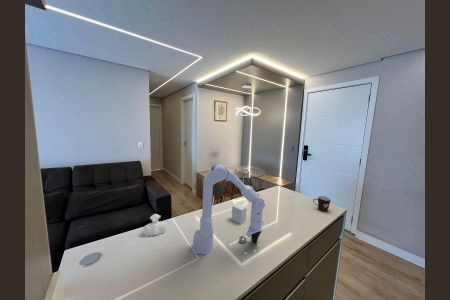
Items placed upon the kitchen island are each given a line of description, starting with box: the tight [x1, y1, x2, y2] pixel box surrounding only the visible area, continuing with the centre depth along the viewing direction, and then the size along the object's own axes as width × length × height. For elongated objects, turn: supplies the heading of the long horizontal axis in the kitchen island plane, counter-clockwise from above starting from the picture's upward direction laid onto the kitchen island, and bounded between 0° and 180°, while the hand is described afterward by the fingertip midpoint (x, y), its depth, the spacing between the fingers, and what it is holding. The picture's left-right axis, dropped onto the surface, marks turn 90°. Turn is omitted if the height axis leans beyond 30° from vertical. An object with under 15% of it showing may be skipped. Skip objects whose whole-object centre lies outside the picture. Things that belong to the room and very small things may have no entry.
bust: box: [143, 213, 168, 237], centre depth 95 cm, size 12×8×11 cm
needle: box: [238, 236, 258, 245], centre depth 89 cm, size 9×4×4 cm, turn 86°
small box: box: [231, 203, 248, 225], centre depth 109 cm, size 8×6×10 cm
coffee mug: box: [312, 195, 332, 213], centre depth 131 cm, size 12×9×10 cm
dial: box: [243, 230, 261, 255], centre depth 90 cm, size 18×18×1 cm
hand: (254, 242), depth 87 cm, fingers closed
